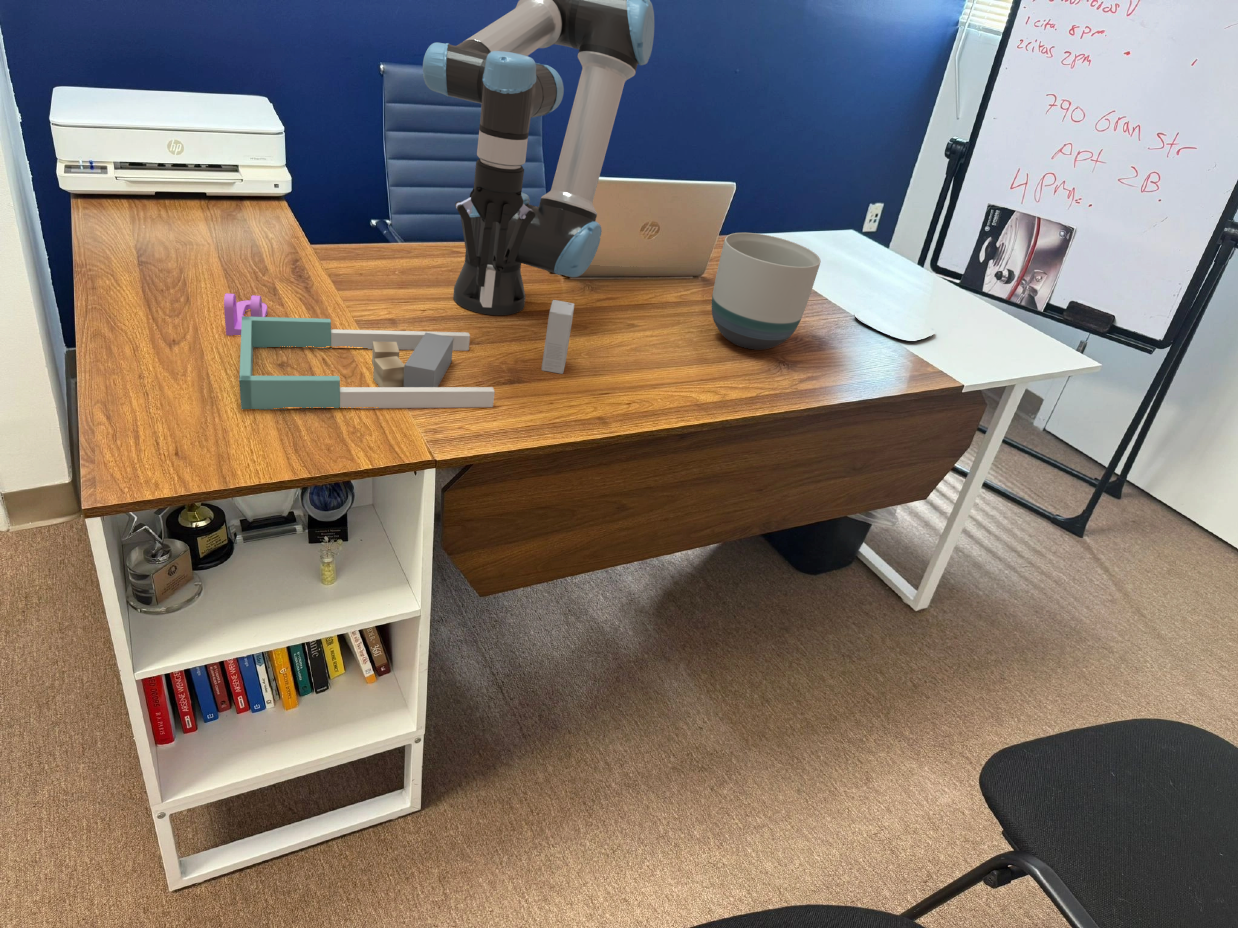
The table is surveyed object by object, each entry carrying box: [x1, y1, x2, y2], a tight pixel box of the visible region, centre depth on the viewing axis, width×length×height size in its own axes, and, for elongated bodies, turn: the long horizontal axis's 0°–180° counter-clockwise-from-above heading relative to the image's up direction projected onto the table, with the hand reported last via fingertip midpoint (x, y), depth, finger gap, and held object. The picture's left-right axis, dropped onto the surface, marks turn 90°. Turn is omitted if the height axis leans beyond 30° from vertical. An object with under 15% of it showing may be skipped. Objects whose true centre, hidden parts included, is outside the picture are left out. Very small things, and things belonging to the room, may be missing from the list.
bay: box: [238, 315, 341, 411], centre depth 138 cm, size 14×23×5 cm, turn 20°
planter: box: [711, 232, 822, 351], centre depth 181 cm, size 20×20×21 cm
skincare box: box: [541, 299, 575, 375], centre depth 156 cm, size 6×4×12 cm
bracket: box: [223, 293, 268, 336], centre depth 151 cm, size 13×6×7 cm, turn 14°
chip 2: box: [372, 356, 405, 387], centre depth 142 cm, size 4×4×4 cm
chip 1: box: [371, 342, 400, 367], centre depth 146 cm, size 4×4×4 cm
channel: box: [331, 328, 496, 409], centre depth 146 cm, size 24×23×3 cm
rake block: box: [404, 333, 454, 387], centre depth 146 cm, size 5×14×5 cm, turn 177°
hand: (485, 304), depth 143 cm, fingers closed
